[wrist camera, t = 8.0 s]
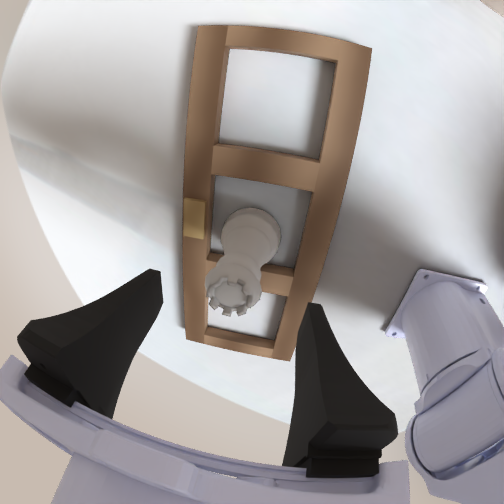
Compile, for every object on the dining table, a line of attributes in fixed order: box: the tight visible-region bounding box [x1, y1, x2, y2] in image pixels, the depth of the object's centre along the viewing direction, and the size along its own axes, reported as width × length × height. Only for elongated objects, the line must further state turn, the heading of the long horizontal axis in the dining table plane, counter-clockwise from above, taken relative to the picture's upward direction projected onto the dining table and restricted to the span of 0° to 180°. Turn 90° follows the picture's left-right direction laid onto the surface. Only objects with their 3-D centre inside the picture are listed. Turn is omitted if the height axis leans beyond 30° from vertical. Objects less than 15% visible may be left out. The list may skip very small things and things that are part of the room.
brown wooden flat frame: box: [182, 25, 372, 361], centre depth 20 cm, size 11×28×2 cm, turn 173°
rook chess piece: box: [205, 208, 281, 316], centre depth 18 cm, size 4×4×8 cm
